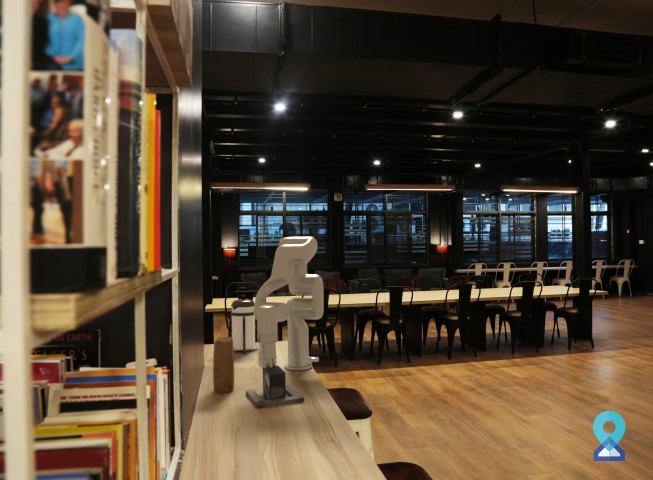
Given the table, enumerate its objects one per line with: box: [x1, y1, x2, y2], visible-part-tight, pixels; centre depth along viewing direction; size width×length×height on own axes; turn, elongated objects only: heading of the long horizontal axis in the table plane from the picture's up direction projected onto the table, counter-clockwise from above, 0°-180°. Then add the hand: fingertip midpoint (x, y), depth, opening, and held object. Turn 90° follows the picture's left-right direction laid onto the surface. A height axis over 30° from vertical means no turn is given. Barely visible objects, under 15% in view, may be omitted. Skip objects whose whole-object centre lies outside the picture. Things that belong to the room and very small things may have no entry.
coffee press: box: [230, 294, 259, 355], centre depth 242 cm, size 17×16×30 cm
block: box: [212, 336, 235, 394], centre depth 174 cm, size 11×8×20 cm
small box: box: [262, 364, 287, 400], centre depth 164 cm, size 11×6×10 cm, turn 22°
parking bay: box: [245, 384, 305, 410], centre depth 164 cm, size 17×17×2 cm
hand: (268, 386), depth 171 cm, fingers closed
